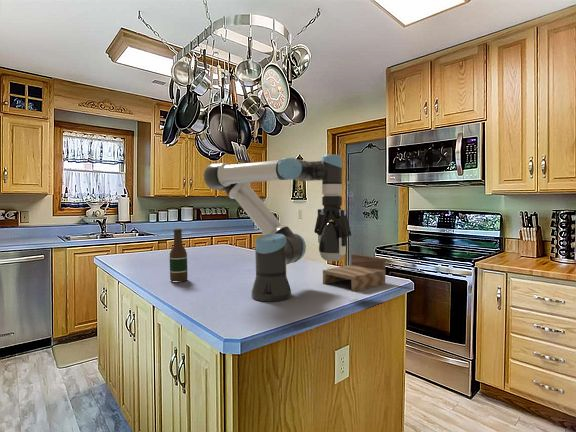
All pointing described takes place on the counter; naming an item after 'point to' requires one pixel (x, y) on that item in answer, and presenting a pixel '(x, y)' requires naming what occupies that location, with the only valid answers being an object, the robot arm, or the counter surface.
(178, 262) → the beer bottle
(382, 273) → the walnut shelf
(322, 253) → the dark grey egg shape
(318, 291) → the counter surface
